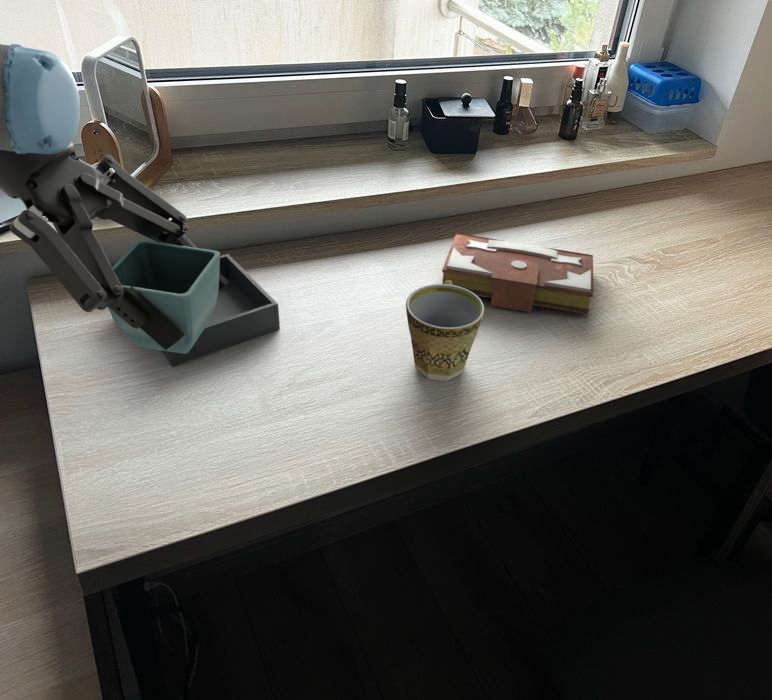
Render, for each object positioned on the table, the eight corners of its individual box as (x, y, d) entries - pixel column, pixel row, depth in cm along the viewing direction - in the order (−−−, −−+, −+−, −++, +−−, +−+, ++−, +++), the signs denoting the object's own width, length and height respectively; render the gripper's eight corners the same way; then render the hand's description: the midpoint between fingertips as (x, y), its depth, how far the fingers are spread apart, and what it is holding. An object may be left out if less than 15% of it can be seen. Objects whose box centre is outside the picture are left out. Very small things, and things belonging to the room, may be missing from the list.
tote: (172, 367, 93) (167, 340, 90) (128, 308, 101) (122, 283, 99) (280, 329, 101) (278, 303, 98) (231, 278, 110) (228, 253, 107)
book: (588, 276, 122) (594, 249, 119) (588, 321, 109) (594, 292, 106) (454, 254, 123) (457, 226, 120) (438, 296, 110) (441, 267, 107)
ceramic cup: (474, 393, 94) (483, 332, 88) (398, 385, 94) (401, 324, 88) (478, 334, 105) (485, 275, 98) (409, 326, 104) (412, 268, 98)
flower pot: (230, 319, 80) (221, 249, 75) (199, 369, 73) (187, 296, 68) (152, 309, 80) (138, 238, 75) (114, 357, 74) (95, 283, 68)
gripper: (-64, 165, 55) (165, 364, 64) (100, 79, 72) (263, 245, 81) (-100, 215, 59) (121, 396, 68) (63, 122, 76) (223, 276, 85)
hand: (198, 314), depth 74 cm, fingers closed on flower pot, 9 cm apart
